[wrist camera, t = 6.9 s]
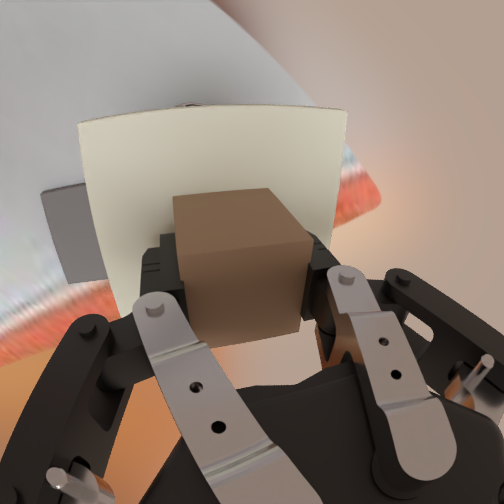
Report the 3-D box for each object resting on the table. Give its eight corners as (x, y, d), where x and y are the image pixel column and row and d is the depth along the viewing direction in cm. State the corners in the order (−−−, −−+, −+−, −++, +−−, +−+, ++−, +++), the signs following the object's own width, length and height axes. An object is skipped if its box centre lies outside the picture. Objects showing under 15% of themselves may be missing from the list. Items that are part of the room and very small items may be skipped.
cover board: (82, 121, 10) (28, 150, 5) (338, 108, 12) (419, 133, 8) (128, 325, 15) (127, 406, 11) (312, 297, 18) (353, 362, 14)
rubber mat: (43, 191, 29) (40, 194, 28) (143, 173, 32) (142, 176, 31) (69, 279, 36) (68, 283, 35) (157, 268, 38) (157, 272, 38)
